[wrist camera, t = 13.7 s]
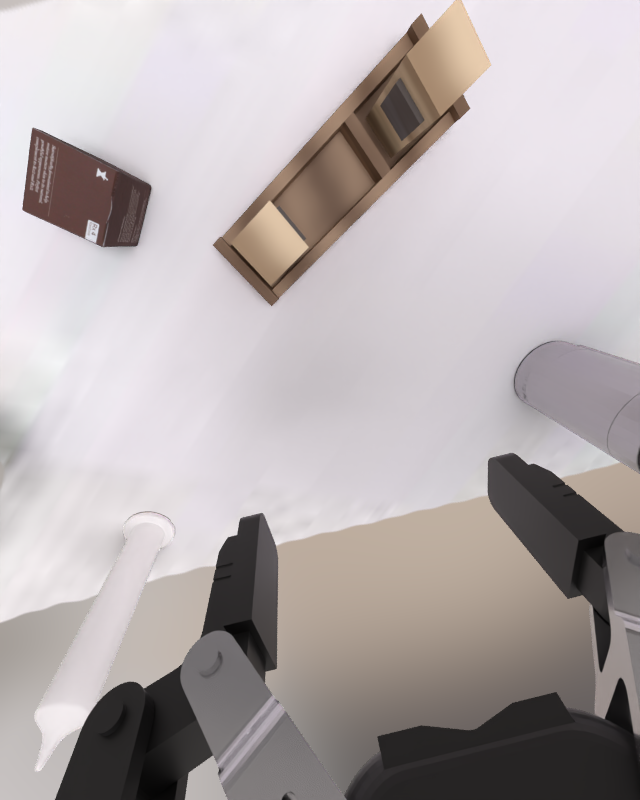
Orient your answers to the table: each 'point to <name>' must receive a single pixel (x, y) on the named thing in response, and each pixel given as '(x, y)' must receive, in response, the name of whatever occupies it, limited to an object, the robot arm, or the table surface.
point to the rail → (326, 185)
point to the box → (83, 193)
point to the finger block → (429, 79)
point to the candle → (100, 633)
